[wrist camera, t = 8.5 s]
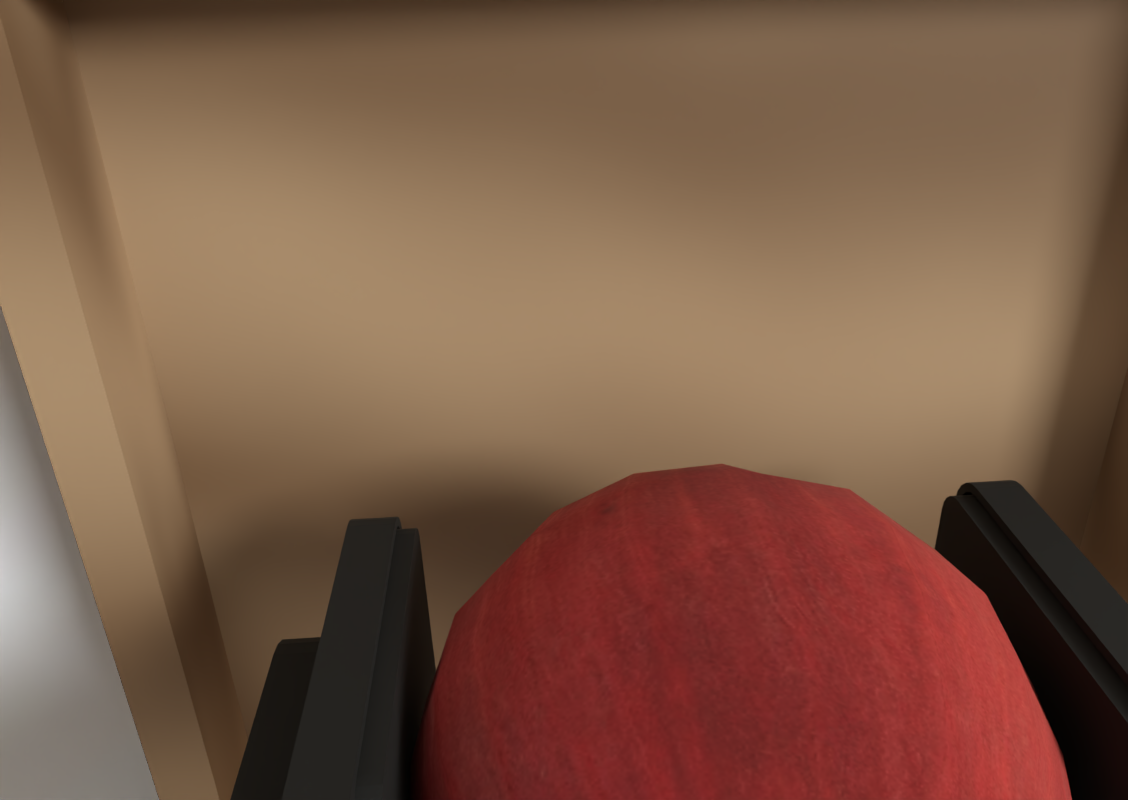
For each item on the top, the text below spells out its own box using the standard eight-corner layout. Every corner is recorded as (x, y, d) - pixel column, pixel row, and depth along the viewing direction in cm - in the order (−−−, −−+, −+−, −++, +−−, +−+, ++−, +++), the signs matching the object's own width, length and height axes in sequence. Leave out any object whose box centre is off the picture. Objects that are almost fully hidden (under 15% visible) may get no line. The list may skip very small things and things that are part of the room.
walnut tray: (2, -126, 10) (-140, -134, 8) (1263, -167, 11) (1469, -186, 9) (262, 865, 18) (226, 1009, 15) (1007, 810, 18) (1081, 941, 16)
